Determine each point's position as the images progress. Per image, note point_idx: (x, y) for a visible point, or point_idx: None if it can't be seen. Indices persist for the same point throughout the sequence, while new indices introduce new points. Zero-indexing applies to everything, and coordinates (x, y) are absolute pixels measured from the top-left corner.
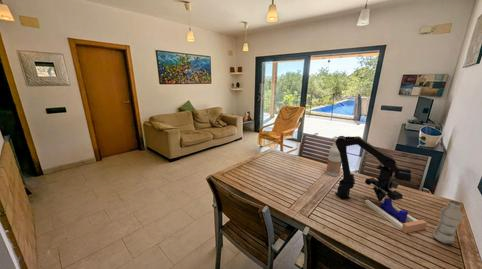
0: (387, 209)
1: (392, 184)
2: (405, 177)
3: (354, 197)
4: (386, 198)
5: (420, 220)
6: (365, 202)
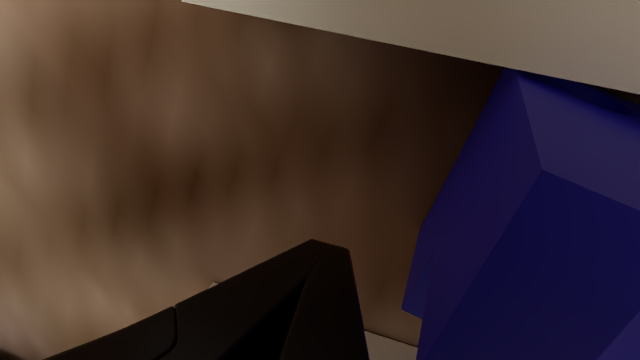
0: (629, 348)
1: None
2: None
3: (47, 310)
4: (464, 341)
5: None
6: None
